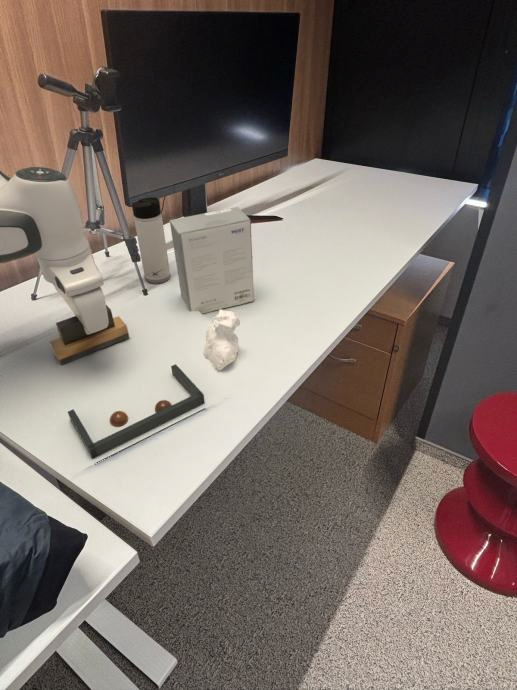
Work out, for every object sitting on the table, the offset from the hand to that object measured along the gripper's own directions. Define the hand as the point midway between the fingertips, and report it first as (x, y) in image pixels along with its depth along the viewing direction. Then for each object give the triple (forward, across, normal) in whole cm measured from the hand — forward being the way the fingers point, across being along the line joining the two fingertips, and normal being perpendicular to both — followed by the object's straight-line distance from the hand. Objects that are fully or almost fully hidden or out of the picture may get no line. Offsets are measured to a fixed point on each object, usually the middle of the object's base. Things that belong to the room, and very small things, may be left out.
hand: (86, 327), depth 92 cm
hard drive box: (+7, -1, +30) cm, 31 cm away
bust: (+7, +17, +20) cm, 27 cm away
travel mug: (+7, -19, +24) cm, 31 cm away
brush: (+5, 0, 0) cm, 5 cm away
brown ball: (+5, +24, +4) cm, 25 cm away
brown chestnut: (+5, +22, -4) cm, 23 cm away
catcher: (+6, +22, 0) cm, 23 cm away
